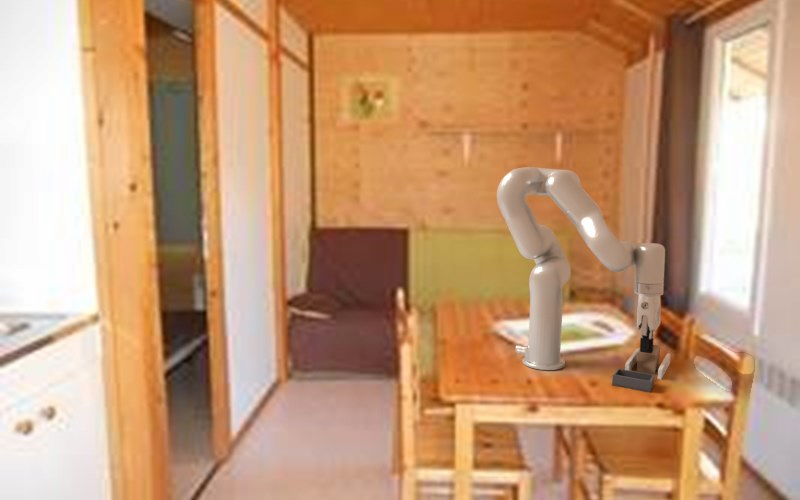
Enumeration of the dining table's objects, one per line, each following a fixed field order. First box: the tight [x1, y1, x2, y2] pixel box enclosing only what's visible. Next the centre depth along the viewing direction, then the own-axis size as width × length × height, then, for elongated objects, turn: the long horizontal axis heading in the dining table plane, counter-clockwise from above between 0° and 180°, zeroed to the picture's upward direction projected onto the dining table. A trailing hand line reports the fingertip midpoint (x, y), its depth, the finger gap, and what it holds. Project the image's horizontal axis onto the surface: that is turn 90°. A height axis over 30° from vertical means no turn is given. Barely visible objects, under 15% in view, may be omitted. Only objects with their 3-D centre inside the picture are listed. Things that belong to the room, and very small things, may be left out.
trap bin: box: [611, 368, 656, 393], centre depth 182 cm, size 10×6×3 cm, turn 60°
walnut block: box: [636, 344, 661, 376], centre depth 195 cm, size 5×10×6 cm, turn 153°
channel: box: [624, 347, 672, 381], centre depth 195 cm, size 10×16×3 cm, turn 150°
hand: (646, 351), depth 185 cm, fingers closed
